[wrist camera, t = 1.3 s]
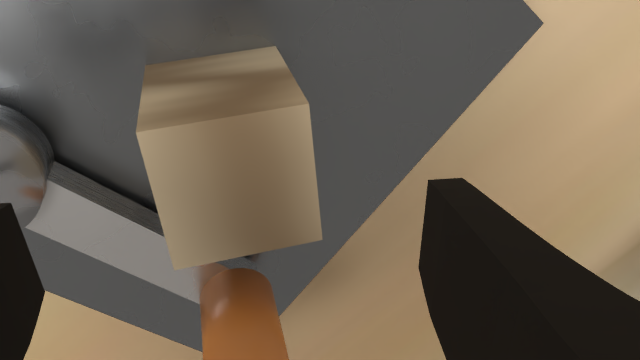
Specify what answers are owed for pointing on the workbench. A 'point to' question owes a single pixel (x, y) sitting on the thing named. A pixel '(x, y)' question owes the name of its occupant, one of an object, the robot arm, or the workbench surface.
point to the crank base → (307, 69)
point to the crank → (135, 244)
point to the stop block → (228, 156)
